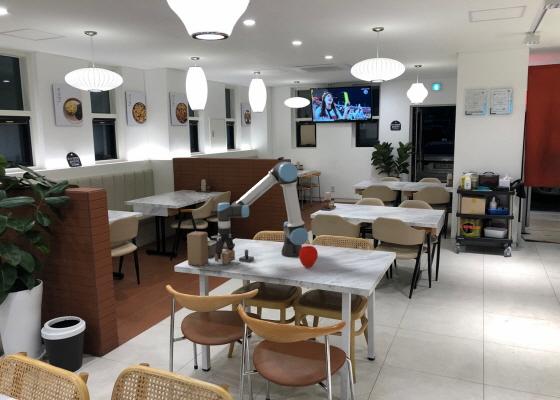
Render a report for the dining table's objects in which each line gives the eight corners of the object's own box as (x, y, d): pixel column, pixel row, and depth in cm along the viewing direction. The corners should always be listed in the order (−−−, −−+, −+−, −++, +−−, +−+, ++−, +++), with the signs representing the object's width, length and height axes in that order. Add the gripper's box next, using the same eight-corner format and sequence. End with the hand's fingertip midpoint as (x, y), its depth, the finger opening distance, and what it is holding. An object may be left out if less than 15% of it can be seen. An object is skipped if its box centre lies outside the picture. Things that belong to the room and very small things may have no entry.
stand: (254, 259, 294) (253, 249, 293) (248, 262, 288) (247, 251, 287) (245, 258, 297) (245, 248, 296) (239, 261, 291) (238, 250, 290)
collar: (223, 257, 290) (223, 248, 289) (234, 259, 285) (234, 250, 284) (214, 261, 282) (214, 251, 281) (226, 263, 278) (226, 253, 277)
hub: (240, 263, 286) (240, 248, 285) (227, 268, 274) (226, 253, 273) (222, 260, 293) (222, 246, 292) (209, 265, 281) (208, 250, 280)
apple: (312, 270, 269) (312, 249, 267) (295, 268, 275) (295, 246, 273) (320, 266, 279) (321, 245, 277) (304, 263, 285) (304, 242, 283)
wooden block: (209, 262, 289) (208, 231, 286) (201, 266, 280) (200, 235, 277) (195, 260, 292) (194, 230, 289) (187, 265, 283) (186, 234, 280)
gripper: (229, 223, 292) (230, 257, 295) (208, 229, 273) (209, 265, 276) (239, 224, 288) (239, 258, 291) (218, 231, 269) (219, 267, 273)
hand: (225, 262), depth 284 cm, fingers closed on collar, 9 cm apart
